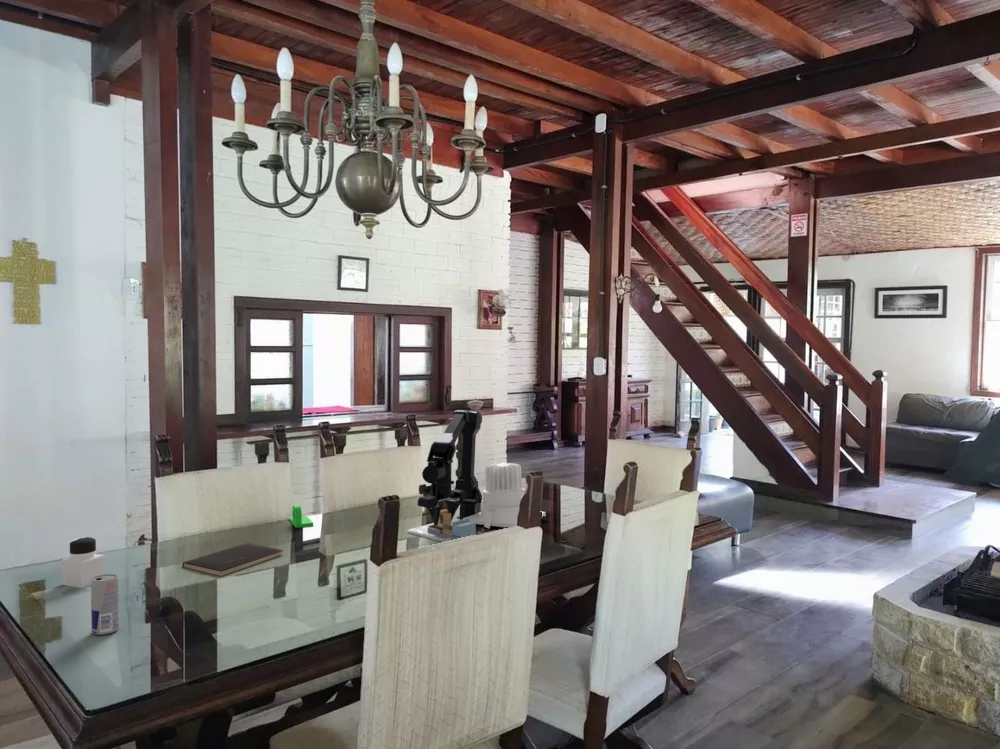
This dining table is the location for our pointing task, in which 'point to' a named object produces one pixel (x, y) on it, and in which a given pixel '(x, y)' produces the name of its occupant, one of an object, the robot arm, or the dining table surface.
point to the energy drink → (104, 604)
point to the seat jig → (433, 533)
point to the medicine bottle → (82, 563)
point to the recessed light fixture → (500, 496)
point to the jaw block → (444, 521)
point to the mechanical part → (299, 518)
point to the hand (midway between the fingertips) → (442, 523)
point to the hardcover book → (232, 559)
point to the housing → (463, 528)
